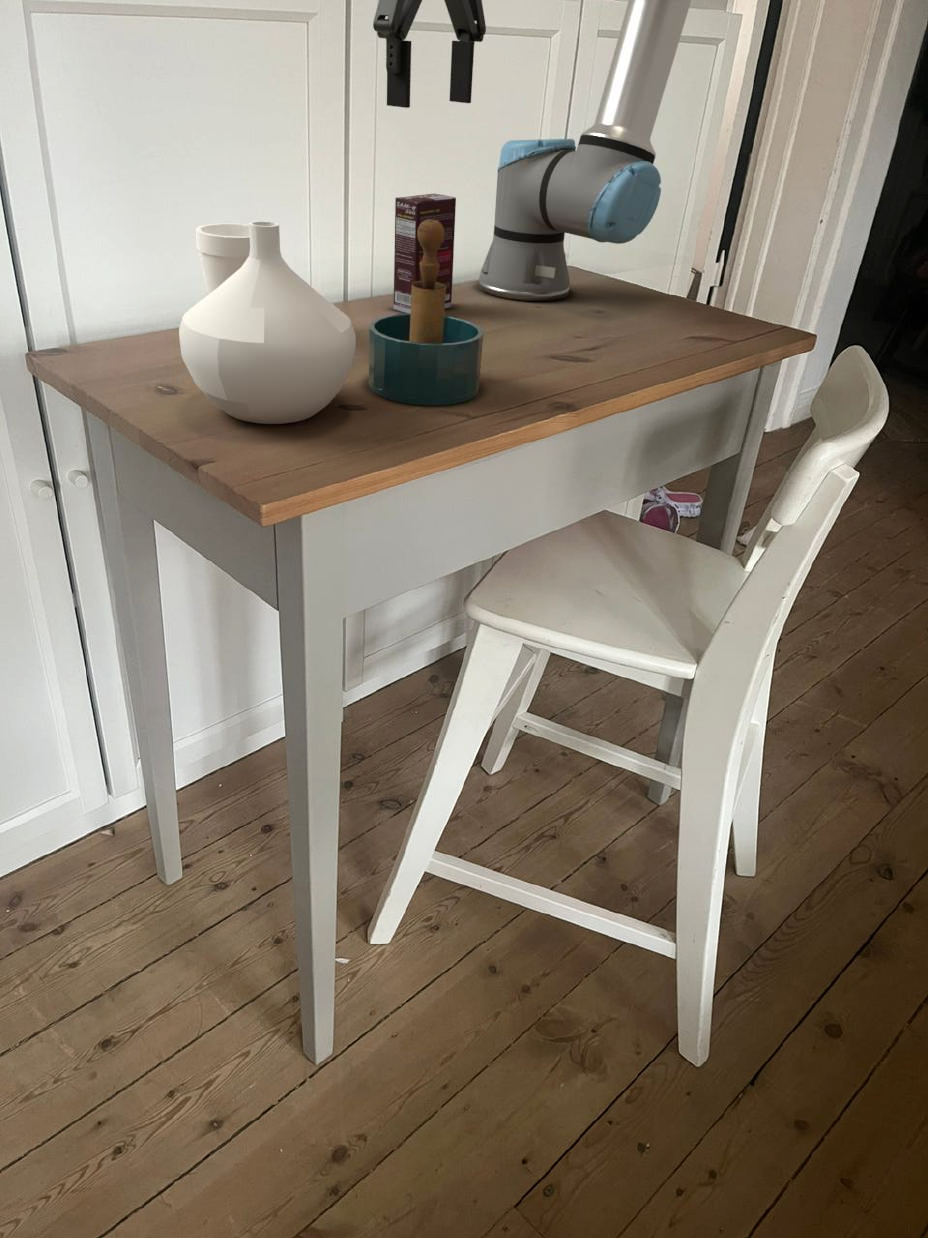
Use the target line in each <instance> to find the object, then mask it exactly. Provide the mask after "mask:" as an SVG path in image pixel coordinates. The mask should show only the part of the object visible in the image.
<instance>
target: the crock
mask: <svg viewBox="0 0 928 1238" xmlns="http://www.w3.org/2000/svg"><path fill="white" fill-rule="evenodd" d="M410 317H411V313H410V314H407V313H396V314H388V315H385V316H381V317H378V318H375V319H374V320H372V321H370V323H369V333H368V334H369V336H368V337H369V341H368V342H369V344H368V386H369V388H370V390H371V391H372V392H373V393H374V394H376V395H378V396H380V397H381V398H384V399H386V400H390V401H394V402H397V403H401V404H406V405H416V406H430V407H431V406H432V407H433V406H449V405H456V404H460V403H464V402H467V401H469V400H471V399H473V398H475V397H476V396H477V395H478V393H479V387H480V381H481V369H482V357H483V356H482V355H483V343H484V332H483V331H484V330H483V329H482V328H481V327H480V326H479V325H477V324H476V323H474V322H471V321H468V320H466V319H463V318H458V317H454V316H449V315H444V324H443V339H442V344H431V343H417V342H410V341H409V337H410Z"/></svg>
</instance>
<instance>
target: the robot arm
mask: <svg viewBox="0 0 928 1238" xmlns="http://www.w3.org/2000/svg"><path fill="white" fill-rule="evenodd" d="M422 3H423V0H378V3H377V6H376V11H375V15H374V18H373V22H372V27H373V29H374V31H375V32H376V34H377V37H378V38H379V39H385V42H386V43H385V44H386V45H385V46H386V47H385V56H386V58H385V68H386V106H387V107H397V108H404V109H408V108H411V78H412V77H411V76H412V74H411V73H412V40H406V39H407V36H408V34H409V32H410V29H411V27H412V25H413V23H414V20H415V18H416V16H417V14H418V12H419V9H420V7H421V4H422ZM444 3H445V7H446V9H447V13H448V15H449V19H450V21H451V24H452V28H453V30H454V33H455V36H456V39H457V40H451V56H450V57H451V58H450V81H449V84H450V85H449V102H452V103H461V104H471V103H472V94H473V93H472V91H473V90H472V89H473V74H474V55H475V42H477V43H482V42H483V41H484V36H485V34H486V32H487V26H486V25H487V24H486V19H485V11H484V6H483V0H444ZM691 3H692V0H628V2H627V5H626V9H625V11H624V16H623V20H622V23H621V27H620V31H619V34H618V36H617V37H618V38H617V41H616V45H615V48H614V52H613V56H612V60H611V62H610V67H609V69H608V72H607V73H608V74H607V77H606V80H605V85H604V87H603V92H602V94H601V99H600V103H599V106H598V110H597V112H596V117H595V120H594V124H593V125H592V126H590V127H589V128H587V129H586V130H585V131H583V132H582V133H580V137H579V140H578V144H577V146H576V140H574V139H573V138H549V139H548V138H545V139H543V138H542V139H514V140H513V139H511V140H508V141H506V142H505V143H504V144H503V145H502V147H501V149H500V155H499V162H498V166H497V175H496V177H497V180H496V191H495V192H496V193H495V208H494V209H495V210H494V223H493V237H492V241H491V244H490V246H489V249H488V252H487V254H486V257H485V259H484V261H483V264H482V267H481V270H480V274H479V278H478V288H479V289H480V290H481V291H482V292H484V293H487V294H489V295H492V296H495V297H498V298H499V297H500V298H504V299H510V300H516V301H517V300H518V301H529V302H530V301H531V302H546V301H547V302H548V301H556V300H561V299H564V298H566V297H568V295H569V293H570V275H569V269H568V264H567V263H568V262H567V259H566V252H565V247H564V246H565V245H564V244H565V237H566V236H565V235H566V234H569V235H573V236H578V237H581V238H586V239H591V240H593V241H596V242H598V243H609V244H615V245H622V244H627V243H629V242H631V241H633V240H634V239H635V238H637V237H638V236H639V235H641V234H642V233H643V231H645V229H646V228H647V227H648V225H649V224H650V222H651V220H652V219H653V217H654V215H655V214H656V211H657V208H658V206H659V203H660V198H661V192H662V188H661V186H660V185H661V184H662V177H661V173H660V171H659V169H658V168H657V167H656V166H655V165H654V163H655V160H656V156H657V153H656V151H655V149H654V147H653V145H652V143H651V138H652V134H653V130H654V127H655V124H656V121H657V117H658V113H659V111H660V107H661V104H662V101H663V97H664V94H665V90H666V87H667V83H668V80H669V76H670V74H671V70H672V66H673V64H674V60H675V57H676V53H677V50H678V47H679V44H680V40H681V37H682V33H683V30H684V27H685V23H686V19H687V17H688V13H689V9H690V7H691ZM386 17H387V18H386Z"/></svg>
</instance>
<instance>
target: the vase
mask: <svg viewBox="0 0 928 1238" xmlns="http://www.w3.org/2000/svg"><path fill="white" fill-rule="evenodd" d="M248 225H249V231H250V254H249V257H248V258H247V260H246V261H245V263H244V264H243V265H242V267H241V268H240V269H239V270H237V271H236V272H235V273H234V274H233V275H232V276H230V277H229V278H228V279H227V280H226V281H225V282H223V283H222V284H221V285H220V286H219V287H218V288H216V289H215V290H214V291H213V292H211V293H210V294H209V295H208V294H207V295H206V296H204V298H203V299H201V300H199V301H198V303H196V304H195V305H193V306H192V307H191V308H190V309H188V310H187V311H186V312H185V313H184V314H183V315H182V318H181V321H180V325H179V329H178V333H179V334H178V339H179V346H180V347H179V348H180V354H181V358H182V361H183V363H184V364H185V366H186V368H187V370H188V372H189V374H190V376H191V378H192V380H193V382H194V384H195V385H196V386H197V387H198V389H199V390H200V391H201V392H202V393H203V395H205V396H206V397H207V399H208V400H209V401H210V402H211V403H212V404H213V405H214V406H215V407H217V408H218V409H220V410H221V411H223V412H224V413H226V414H227V415H229V416H231V417H233V418H234V419H237V420H240V421H244V422H247V423H248V422H249V423H254V424H264V425H265V424H266V425H278V424H280V425H281V424H290V423H291V424H292V423H297V422H301V421H304V420H306V419H309V418H311V417H313V416H315V415H316V414H317V413H319V412H320V411H322V409H324V408H325V407H327V406H328V405H329V404H331V402H332V401H333V399H334V398H335V397H336V396H337V394H339V393H340V391H342V389H343V386H344V384H345V381H346V379H347V377H348V374H349V372H350V370H351V367H352V365H353V363H354V360H355V357H356V342H357V341H356V340H357V335H356V333H355V329H354V327H353V324H352V321H351V319H350V317H349V316H348V315H347V314H346V313H344V312H343V311H342V310H340V309H339V308H338V306H335V305H334V304H333V303H332V302H331V301H329V300H328V299H327V298H325V296H323V295H322V294H321V293H319V292H318V291H317V290H316V289H315V288H314V287H312V286H311V285H310V284H309V283H308V282H307V281H305V279H303V278H302V277H301V276H300V275H298V274H297V273H296V272H295V271H294V270H293V269H292V268H290V266H289V265H288V263H287V262H286V260H285V259H284V257H282V252H281V240H280V239H281V238H280V235H281V234H280V224H279V223H278V222H274V221H267V220H265V221H264V220H256V221H249V223H248Z"/></svg>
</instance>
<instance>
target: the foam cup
mask: <svg viewBox="0 0 928 1238" xmlns="http://www.w3.org/2000/svg"><path fill="white" fill-rule="evenodd" d="M194 231H195V243H196V249H197V251H198V254H199V260H200V265H201V269H202V275H203V278H204V283H205V288H206V294H207V296H208V295H209V294H210V293H211V292H213V291H214V290H215V289H216V288H218V287H219V286H220V285H221V284H222V283H223V282H225V281H226V280H227V279H228V278H229V277H230V276H232V275H233V274H234V273H235V272H236V271H237V270H239V269H240V268H241V267H242V265H243V264H244V263H245V261H246V260H247V258H248V257H249V254H250V231H249V224H247V223H233V222H231V223H230V222H221V223H220V222H219V223H208V224H203V225H199V226H197V227H196V228H195V230H194Z"/></svg>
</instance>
